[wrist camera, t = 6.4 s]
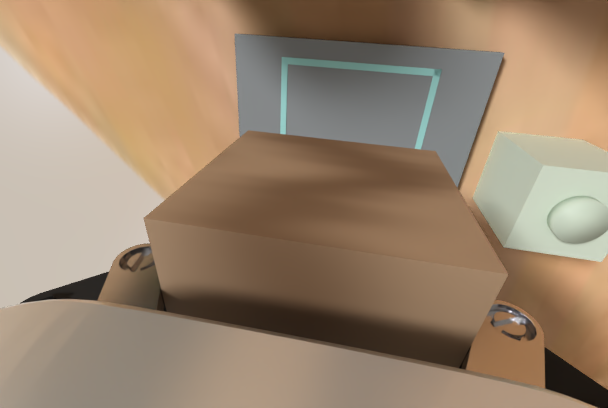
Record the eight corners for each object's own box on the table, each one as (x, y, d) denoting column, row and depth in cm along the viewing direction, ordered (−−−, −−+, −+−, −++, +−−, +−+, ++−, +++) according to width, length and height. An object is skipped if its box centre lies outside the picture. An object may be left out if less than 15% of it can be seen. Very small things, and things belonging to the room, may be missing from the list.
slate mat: (500, 52, 18) (504, 52, 17) (441, 223, 24) (443, 228, 23) (238, 33, 20) (234, 33, 19) (245, 195, 26) (242, 199, 25)
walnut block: (435, 151, 10) (507, 274, 5) (394, 291, 13) (413, 453, 8) (248, 130, 11) (143, 218, 6) (253, 267, 14) (189, 401, 9)
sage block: (582, 139, 19) (674, 185, 13) (546, 207, 22) (610, 270, 16) (497, 130, 20) (550, 170, 14) (472, 198, 22) (508, 255, 17)
